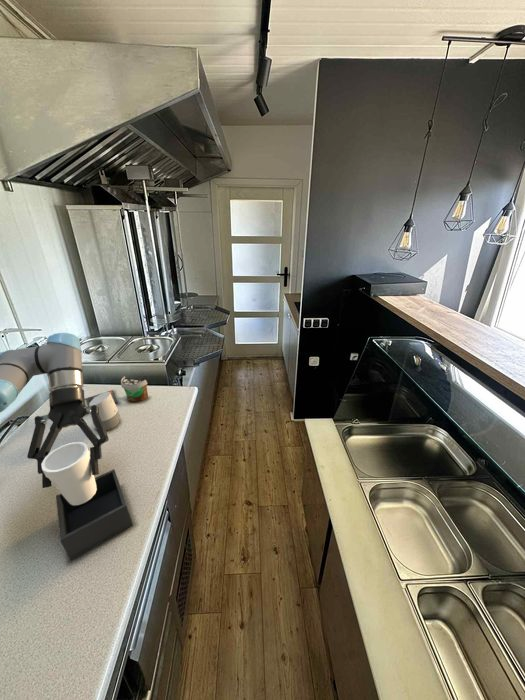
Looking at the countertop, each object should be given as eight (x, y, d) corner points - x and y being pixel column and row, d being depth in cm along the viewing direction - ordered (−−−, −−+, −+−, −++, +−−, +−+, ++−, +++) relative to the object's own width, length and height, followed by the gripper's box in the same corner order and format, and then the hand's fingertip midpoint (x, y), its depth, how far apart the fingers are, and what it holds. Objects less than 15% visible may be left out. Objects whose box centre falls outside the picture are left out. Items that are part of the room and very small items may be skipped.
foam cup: (59, 492, 73) (39, 455, 68) (98, 472, 79) (83, 436, 73) (64, 519, 67) (43, 479, 61) (107, 495, 72) (91, 457, 66)
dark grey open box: (65, 514, 80) (55, 495, 77) (120, 487, 88) (114, 468, 84) (70, 560, 70) (59, 540, 66) (133, 524, 77) (126, 505, 74)
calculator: (117, 401, 126) (78, 414, 119) (118, 403, 127) (79, 416, 119) (112, 389, 135) (76, 400, 127) (113, 391, 135) (76, 402, 128)
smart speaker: (103, 417, 118) (94, 388, 112) (125, 417, 118) (117, 389, 112) (90, 433, 110) (79, 403, 104) (113, 433, 109) (104, 403, 103)
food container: (119, 401, 128) (113, 383, 123) (128, 394, 133) (123, 375, 129) (142, 406, 124) (137, 387, 120) (151, 398, 130) (146, 379, 125)
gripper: (116, 385, 81) (125, 467, 75) (24, 402, 75) (25, 493, 68) (109, 378, 74) (118, 468, 68) (7, 396, 68) (6, 497, 62)
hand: (71, 480), depth 68 cm, fingers closed on foam cup, 9 cm apart
